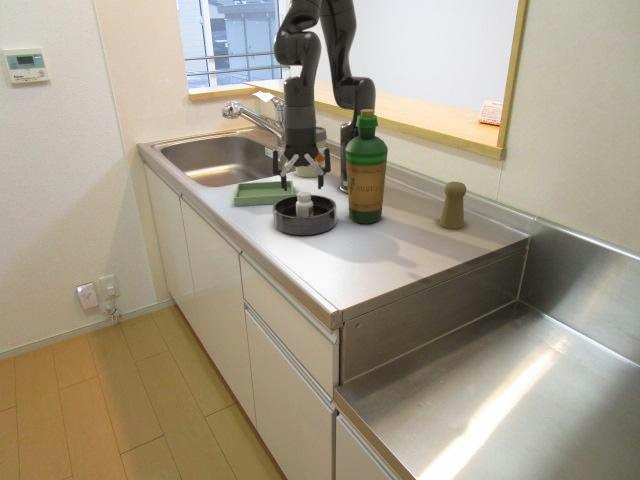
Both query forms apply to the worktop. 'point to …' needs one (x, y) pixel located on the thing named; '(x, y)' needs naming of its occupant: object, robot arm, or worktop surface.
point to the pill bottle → (304, 205)
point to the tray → (261, 193)
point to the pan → (296, 225)
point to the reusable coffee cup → (320, 143)
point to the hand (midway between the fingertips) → (302, 189)
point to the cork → (453, 206)
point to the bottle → (366, 170)
